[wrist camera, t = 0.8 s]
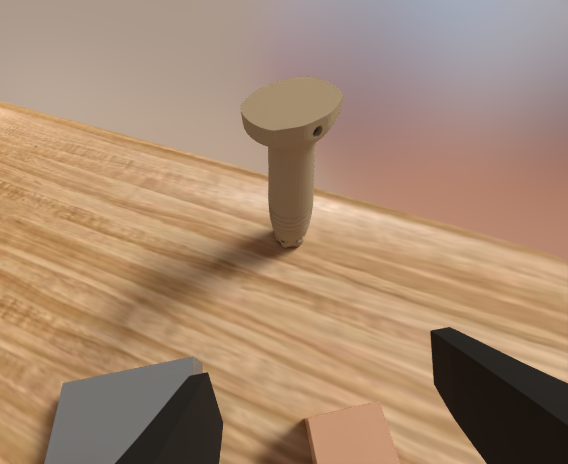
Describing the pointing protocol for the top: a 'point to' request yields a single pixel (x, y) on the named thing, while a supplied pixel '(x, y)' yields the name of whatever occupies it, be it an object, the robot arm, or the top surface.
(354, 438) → the terracotta block
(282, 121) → the handle
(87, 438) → the plate
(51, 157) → the top surface
